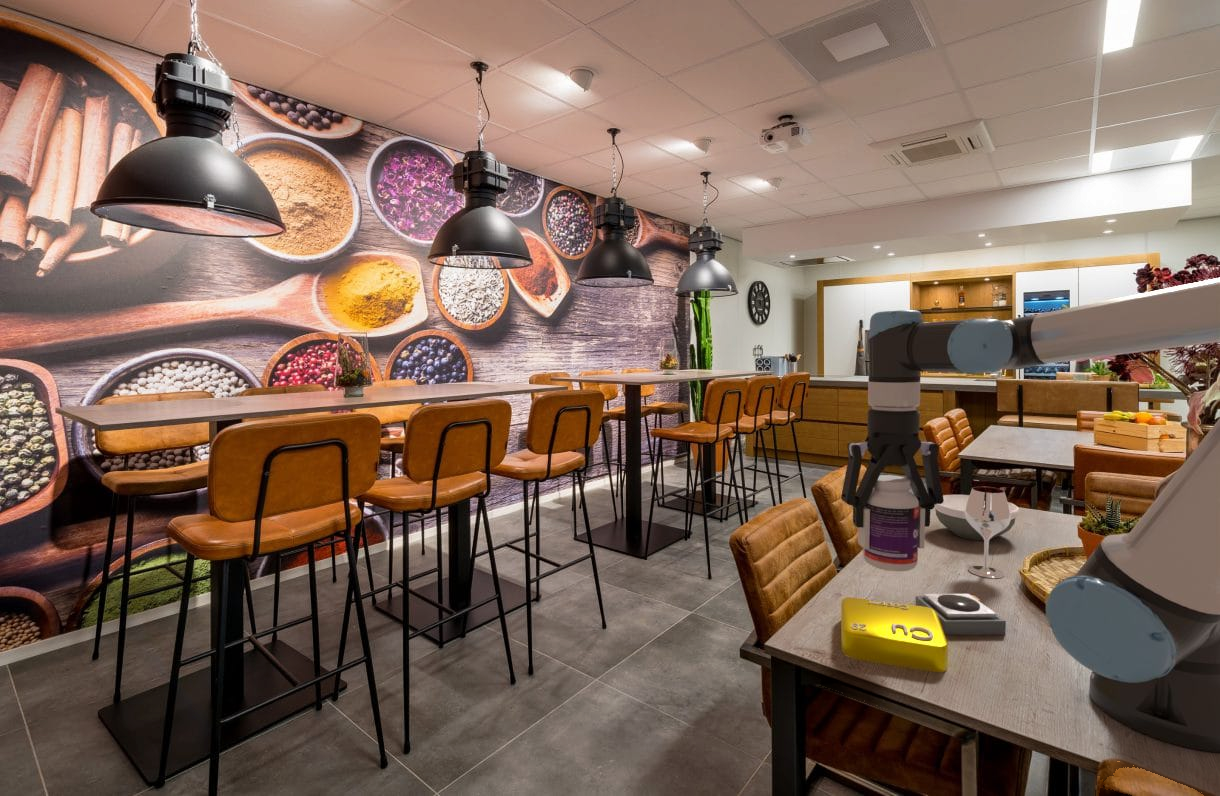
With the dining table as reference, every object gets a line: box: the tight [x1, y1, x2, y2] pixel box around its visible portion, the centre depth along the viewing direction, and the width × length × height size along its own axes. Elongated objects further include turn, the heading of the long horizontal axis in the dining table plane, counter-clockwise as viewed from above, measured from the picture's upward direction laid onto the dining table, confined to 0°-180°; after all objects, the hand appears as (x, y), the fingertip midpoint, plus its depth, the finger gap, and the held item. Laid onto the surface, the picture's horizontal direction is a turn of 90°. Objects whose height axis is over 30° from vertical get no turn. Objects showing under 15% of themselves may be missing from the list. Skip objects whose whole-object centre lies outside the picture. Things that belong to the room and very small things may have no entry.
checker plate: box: [923, 593, 997, 620], centre depth 101 cm, size 8×8×2 cm
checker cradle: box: [915, 594, 1007, 636], centre depth 101 cm, size 10×10×3 cm
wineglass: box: [965, 486, 1011, 579], centre depth 122 cm, size 8×8×18 cm
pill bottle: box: [862, 474, 919, 572], centre depth 94 cm, size 8×8×14 cm
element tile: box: [840, 596, 949, 673], centre depth 95 cm, size 15×15×5 cm
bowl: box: [934, 494, 1020, 541], centre depth 147 cm, size 19×19×8 cm
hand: (890, 545), depth 94 cm, fingers closed on pill bottle, 8 cm apart
